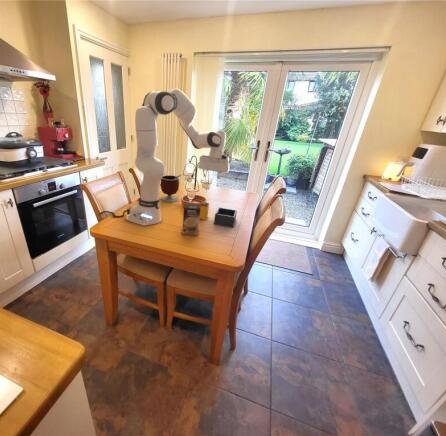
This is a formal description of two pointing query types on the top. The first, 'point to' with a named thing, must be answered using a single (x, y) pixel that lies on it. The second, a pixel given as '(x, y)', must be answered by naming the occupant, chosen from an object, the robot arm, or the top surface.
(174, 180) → the mate gourd
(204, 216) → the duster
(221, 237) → the top surface
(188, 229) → the coffee box
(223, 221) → the case
